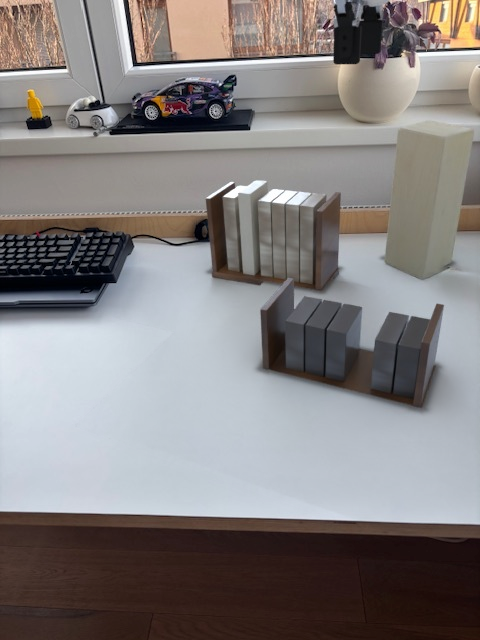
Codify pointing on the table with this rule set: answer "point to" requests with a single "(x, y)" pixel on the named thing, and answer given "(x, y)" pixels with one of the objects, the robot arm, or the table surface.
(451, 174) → the tall beige block
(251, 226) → the white book
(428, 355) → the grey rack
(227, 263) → the brown rack
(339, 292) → the table surface
